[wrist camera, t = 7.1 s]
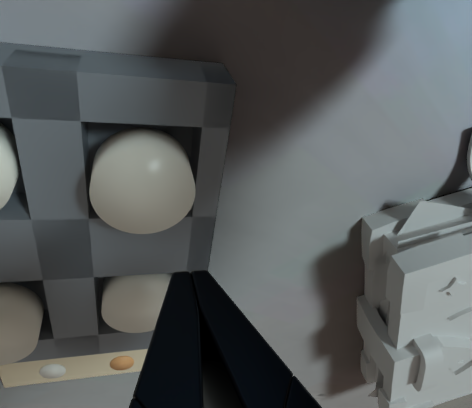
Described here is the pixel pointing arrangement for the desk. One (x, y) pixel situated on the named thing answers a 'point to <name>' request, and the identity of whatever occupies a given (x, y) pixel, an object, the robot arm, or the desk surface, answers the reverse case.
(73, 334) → the button board
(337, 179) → the desk surface
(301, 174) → the desk surface
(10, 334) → the button
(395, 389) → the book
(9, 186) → the button
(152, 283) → the button
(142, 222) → the button
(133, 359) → the pattern card
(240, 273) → the desk surface
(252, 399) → the robot arm
